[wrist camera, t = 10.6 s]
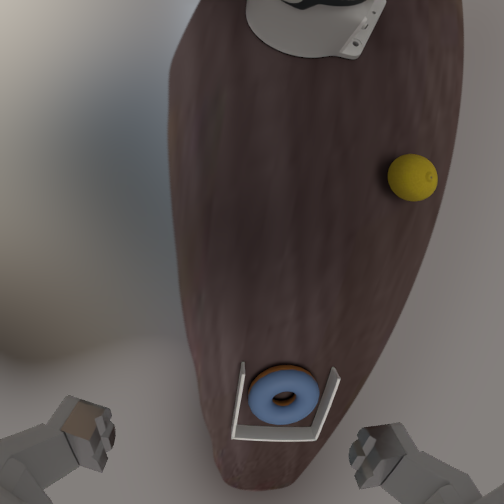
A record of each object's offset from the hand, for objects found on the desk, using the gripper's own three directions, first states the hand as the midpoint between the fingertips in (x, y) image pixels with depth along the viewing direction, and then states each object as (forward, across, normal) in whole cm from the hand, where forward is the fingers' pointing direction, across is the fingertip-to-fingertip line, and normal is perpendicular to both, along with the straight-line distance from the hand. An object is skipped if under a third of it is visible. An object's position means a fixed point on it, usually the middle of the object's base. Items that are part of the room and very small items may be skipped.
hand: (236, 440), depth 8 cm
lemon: (+28, -18, -12) cm, 35 cm away
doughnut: (+27, -8, +20) cm, 34 cm away
